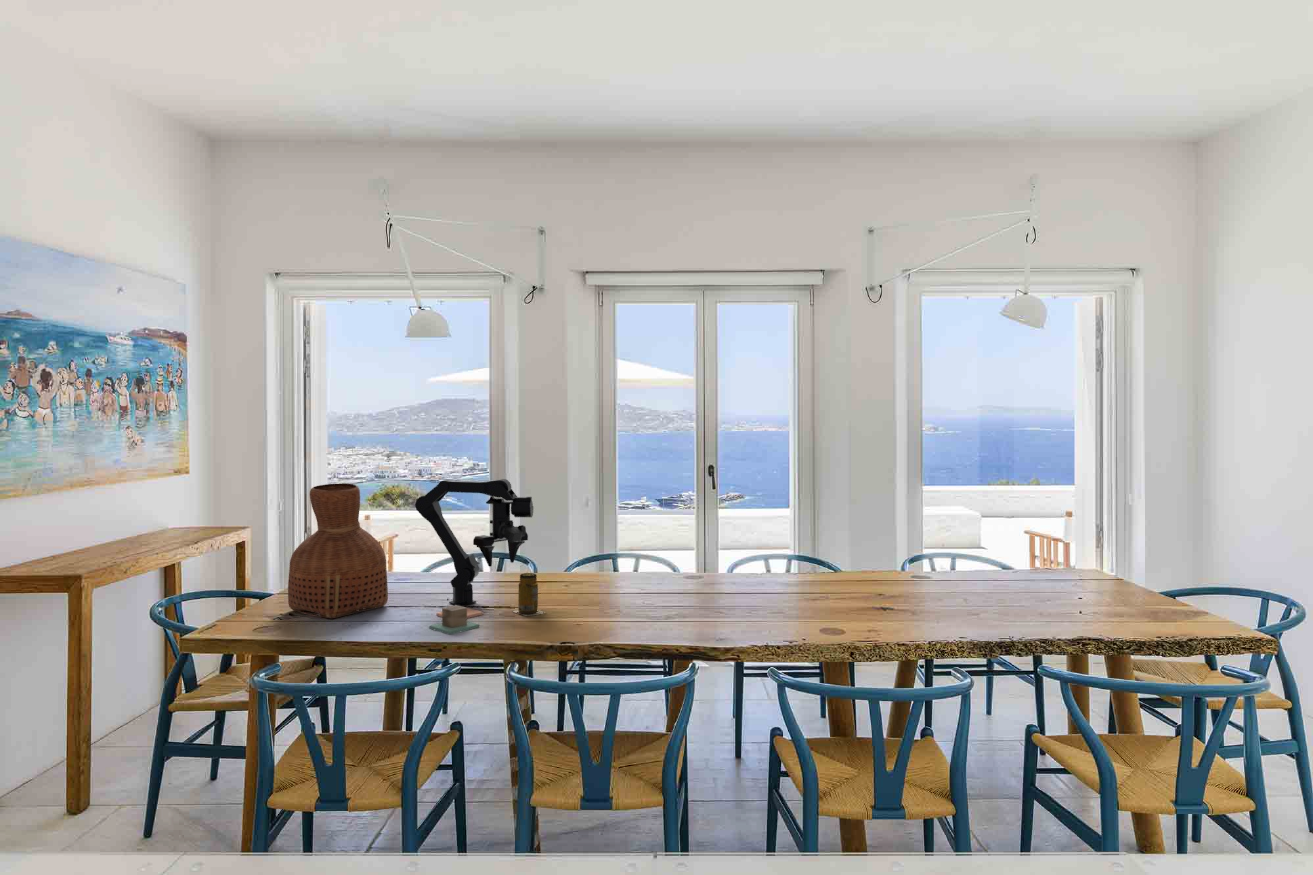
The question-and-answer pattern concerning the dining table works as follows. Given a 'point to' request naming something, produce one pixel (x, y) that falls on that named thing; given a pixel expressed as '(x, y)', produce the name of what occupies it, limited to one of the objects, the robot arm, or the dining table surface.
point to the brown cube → (454, 616)
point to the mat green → (453, 630)
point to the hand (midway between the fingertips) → (501, 564)
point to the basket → (337, 559)
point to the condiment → (528, 595)
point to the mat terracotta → (469, 613)
